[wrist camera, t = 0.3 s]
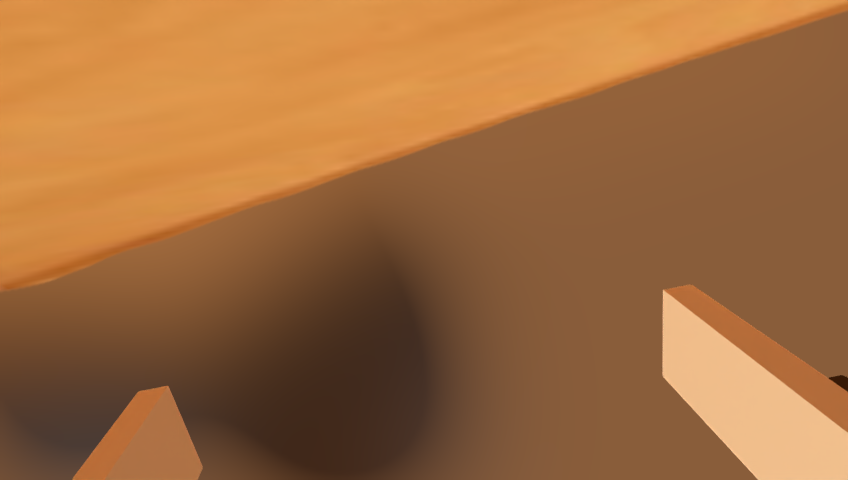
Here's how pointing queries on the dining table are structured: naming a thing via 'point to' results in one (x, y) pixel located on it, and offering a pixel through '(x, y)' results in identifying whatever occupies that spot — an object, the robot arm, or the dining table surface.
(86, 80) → the dining table surface
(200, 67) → the dining table surface
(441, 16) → the dining table surface
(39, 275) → the dining table surface
